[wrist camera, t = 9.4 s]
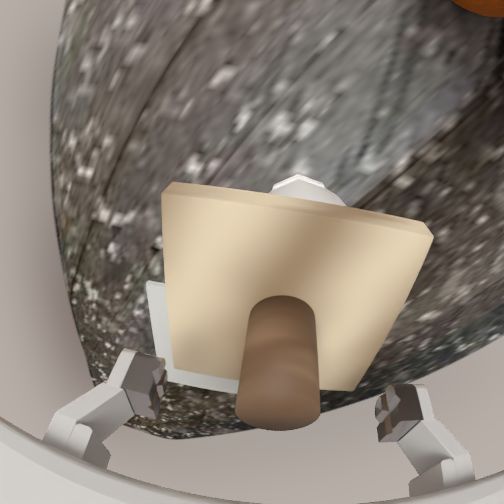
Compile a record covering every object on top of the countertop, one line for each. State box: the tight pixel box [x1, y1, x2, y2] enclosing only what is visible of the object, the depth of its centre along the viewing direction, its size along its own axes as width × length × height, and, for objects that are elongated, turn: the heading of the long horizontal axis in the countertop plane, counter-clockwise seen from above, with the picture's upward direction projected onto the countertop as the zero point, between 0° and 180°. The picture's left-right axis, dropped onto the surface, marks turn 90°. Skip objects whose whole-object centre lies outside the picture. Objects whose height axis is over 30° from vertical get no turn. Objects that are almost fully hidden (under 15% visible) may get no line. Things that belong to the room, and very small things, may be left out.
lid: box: [162, 182, 434, 431], centre depth 12 cm, size 10×10×6 cm
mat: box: [146, 280, 239, 394], centre depth 28 cm, size 14×14×1 cm
